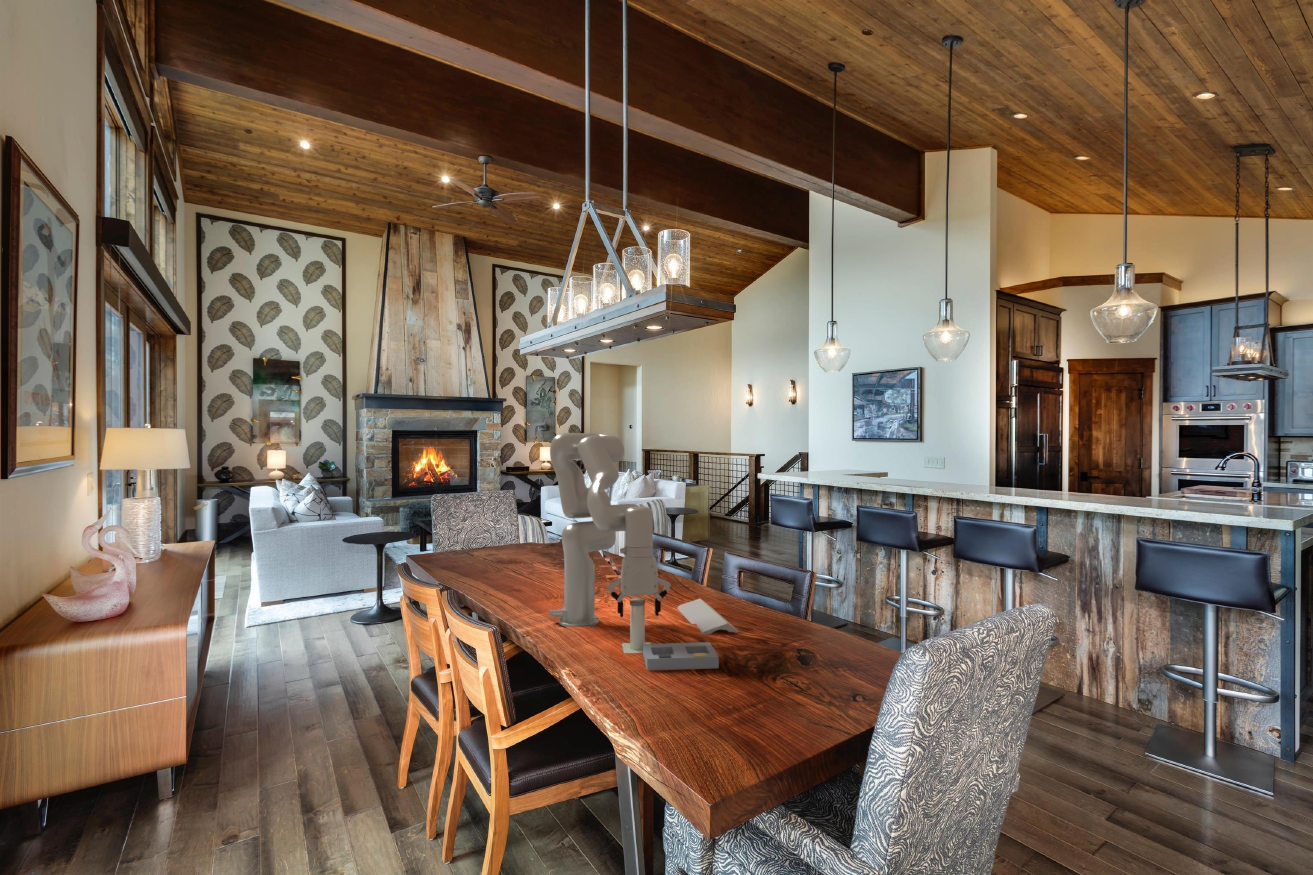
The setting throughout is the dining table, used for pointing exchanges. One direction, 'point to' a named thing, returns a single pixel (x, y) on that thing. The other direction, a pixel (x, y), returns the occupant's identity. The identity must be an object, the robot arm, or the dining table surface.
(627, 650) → the square base plate
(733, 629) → the crown molding
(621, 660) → the dining table surface
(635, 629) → the plug
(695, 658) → the socket block
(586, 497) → the robot arm
